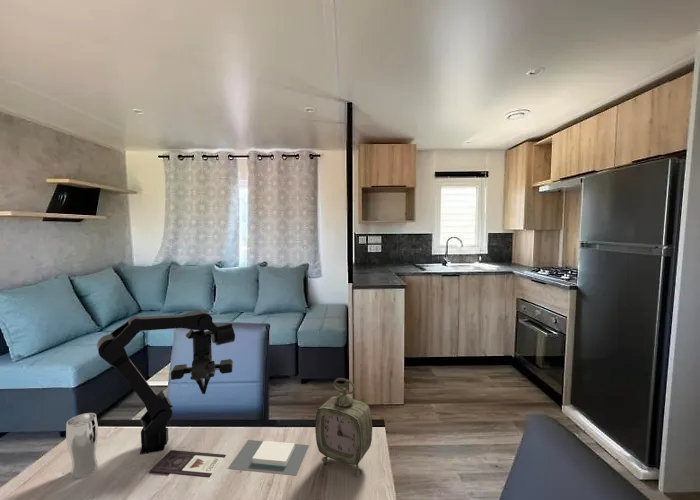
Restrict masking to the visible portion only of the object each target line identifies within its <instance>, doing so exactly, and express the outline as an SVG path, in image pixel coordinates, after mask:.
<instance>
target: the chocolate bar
mask: <svg viewBox="0 0 700 500" xmlns="http://www.w3.org/2000/svg"><path fill="white" fill-rule="evenodd" d="M226 456H227V454H223V453H211V452H210V453H209V452H199V451H188V450H187V451H186V450H176V449H175V450H174V449H173V450H172V449H170V450H169V451H167V453H166V454H165V455H164V456H163V457H162V458H160V460H159V461H158V462H157V463H155V464H154V466H153V467H151V469H150V470H148V473H149V474H156V475H169V476H170V474H172V475H182V476H184V475H185V476H193V477H204V478H210V477H211V476H212V475H213V473H214V472H215V471H216V469H217V468H218V467H219V465H221V462H222V461H223V460H224V459H225V458H226Z"/></svg>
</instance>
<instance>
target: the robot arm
mask: <svg viewBox="0 0 700 500" xmlns="http://www.w3.org/2000/svg"><path fill="white" fill-rule="evenodd" d="M168 329H169V330H171V329H172V330H173V329H187V330H189V331H188V332H187V333H186V334H185V337H186V338H187V339H188V340H190V339H192V356H193V357H192V363H191V366H190V367H189V366H188V365H187V363H185V364H184V363H183V364H176V365H175V366H173V367H172V369H171V372H170V380H172V381H174V380H181V379H182V378H184V377H185V375H186V374H187V375H189V374H190V378H189V380H193V381H195V382H196V384H197V385H198V387H199V389H200V391H201V394H202V395H206V392H207V390H208V389H207V388H208V385H209V382H210V380H211V378H213V377H215V376H216V375H215V374H216V371H219V373H220V374H230V373H233V368H234V367H233V366H234V364H233V363H234V362H233V359H232V358H229V359H221V360H219V363H216V362H215V360H213V351H212V344H215V345H216V346H222V345H226V344H230V343H231V344H232V343H234V342H235V341H236V333H235V330H234V327H233V323H231V322H227V323H224V324H218V325H217V324H215V323H214V322H213V317H212V315H211V314H210V313H208V312H206V311H205V310H202V309H198V310H193V311H188V312H186V313H185V312H184V313H181V314H172V315H150V316H149V315H148V316H137V315H135V316H132V317H130V318H129V319H128V320H127V321H126V322H125V323H123V324H122V325H120V326H119V327H117V328H116V329H114V330H113V331H112V332H111V333H109V334H106V335H103V336H101V337H100V339H99V340H98V341H97V344H96V348H97V352H98V355H99V356H100V358H101V359H103V360H104V361H105V362H106V363H107V364H109V365H110V366H112V367H114V368H115V369H116V370H117V371H118V372H119V373H120V374H121V376H122V377H123V378H124V379H125V381H126V382H127V383H128V385H129V386H130V388H131V389H132V390H133V391H134V392H135V394H136V395H137V396H138V398H139V399H140V401H142V403H143V404H144V407H145V409H146V411H145V413H144V414H143V415H142V416H141V417H140V419H139V420H140V422H141V425H142V429H141V430H140V440H141V441H140V443H141V449H140V451H139V455H146V454H150V453H157V452H161V451H164V450H165V447H166V446H167V444H168V442H169V428H168V427H167V424H168V422H169V420H170V419H171V418H172V416H173V413H174V411H173V410H172V408H173V407H174V406H173V405H172V403H171V400H170V399H169V397H167V396H166V395H165V393H164V392H163V390H161V391H159V393H158V392H156V391H155V390H154V389H153V388H152V387H151V385H150V384H149V383H148V381H147V380H146V379H145V377H144V376H143V375H142V374H141V372H140V371H139V370H138V368H137V367H136V366H135V364H134V363H133V362H132V360H131V359H130V358H129V355H128V353H127V351H126V349H125V347H127V345H128V344H129V343H131V342H132V340H133V339H134V338H135V337H136V336H137V335H138V334H139V333H140V332H143V331H145V332H146V331H157V330H158V331H159V330H168Z"/></svg>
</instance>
